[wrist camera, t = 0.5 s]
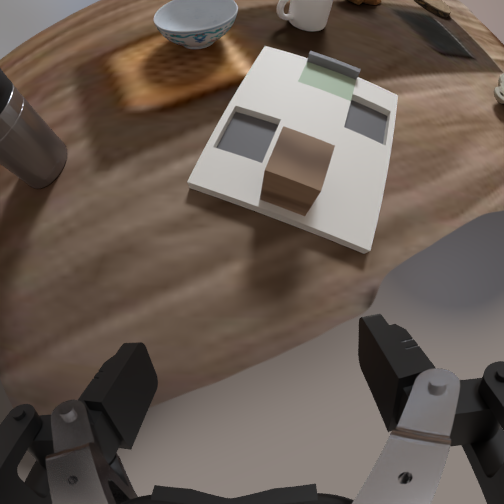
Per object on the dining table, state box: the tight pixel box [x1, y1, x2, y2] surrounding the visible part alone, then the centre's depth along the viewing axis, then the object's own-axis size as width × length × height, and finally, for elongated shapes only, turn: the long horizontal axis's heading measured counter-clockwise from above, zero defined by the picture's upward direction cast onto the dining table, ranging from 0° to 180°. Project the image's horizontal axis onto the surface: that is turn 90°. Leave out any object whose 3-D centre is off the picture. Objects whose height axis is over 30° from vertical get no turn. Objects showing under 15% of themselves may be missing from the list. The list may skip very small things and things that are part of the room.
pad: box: [298, 62, 356, 101], centre depth 43 cm, size 7×9×2 cm
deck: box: [188, 46, 398, 254], centre depth 40 cm, size 30×25×4 cm
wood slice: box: [414, 0, 451, 18], centre depth 56 cm, size 16×16×3 cm
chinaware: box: [154, 0, 238, 49], centre depth 42 cm, size 15×15×8 cm
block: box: [260, 126, 335, 216], centre depth 33 cm, size 6×6×8 cm
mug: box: [277, 0, 333, 31], centre depth 43 cm, size 12×8×10 cm
